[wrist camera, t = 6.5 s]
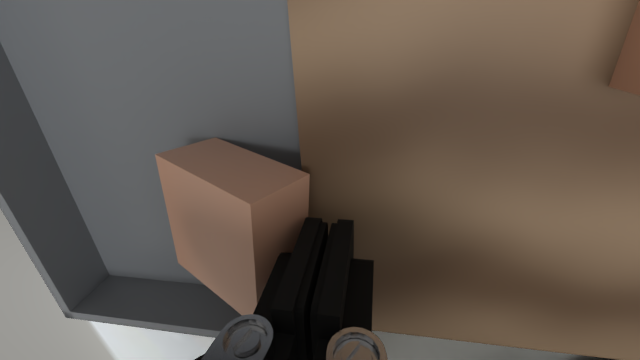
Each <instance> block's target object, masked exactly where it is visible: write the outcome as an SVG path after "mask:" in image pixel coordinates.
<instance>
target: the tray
mask: <svg viewBox="0 0 640 360" xmlns="http://www.w3.org/2000/svg"><path fill="white" fill-rule="evenodd" d="M215 137H216V138H218V139H221V140H223V141H226V142H229V143H231V144H234V145H236V146H239V147H241V148H244V149H247V150H249V151H252V152H254V153H257V154H259V155H262V156H265V157H267V158H270V159H272V160H275V161H277V162H280V163H282V164H285V165H288V166H290V167H293V168H295V169H298V170H300V171H302V167H301V155H300V144H299V132H298V120H297V109H296V97H295V86H294V74H293V62H292V51H291V39H290V27H289V16H288V4H287V0H0V209H1V210H2V212H3V214H4V215H5V217H6V219H7V220H8V222H9V224H10V225H11V227H12V228H13V230H14V232H15V234H16V235H17V237H18V238H19V240H20V242H21V244H22V245H23V247H24V248H25V250H26V252H27V253H28V255H29V257H30V259H31V260H32V262H33V263H34V265H35V267H36V268H37V270H38V272H39V273H40V275H41V277H42V278H43V280H44V282H45V283H46V285H47V287H48V288H49V290H50V292H51V293H52V295H53V297H54V298H55V300H56V301H57V303H58V305H59V307H60V308H61V310H62V312H63V313H64V315H65V317H67V318H73V319H80V320H88V321H95V322H102V323H110V324H117V325H125V326H132V327H140V328H147V329H154V330H162V331H169V332H177V333H184V334H191V335H199V336H206V337H214V338H216V337H217V336H218V334H219V333H220V332H221V330H222V329H223V328H224V327H225V326H226V325H227V324H228V323H229V322H230V321H232V320H233V319H235V318H237V317H240V316H242V315H241V314H240V313H238V312H237V311H236V310H235V309H234V308H232V307H231V306H230V305H229V304H228V303H226V302H225V301H224V300H223V299H221V298H220V297H219V296H218V295H217V294H215V293H214V292H213V291H212V290H211V289H209V288H208V287H207V286H206V285H204V284H203V283H202V282H201V281H200V280H198V279H197V278H196V277H195V276H194V275H192V274H191V273H190V272H189V271H187V270H186V269H185V268H184V267H183V266H181V265H180V264H179V263H178V259H177V255H176V250H175V245H174V241H173V236H172V232H171V227H170V222H169V218H168V213H167V208H166V204H165V199H164V194H163V190H162V185H161V180H160V176H159V171H158V167H157V162H156V157H155V154H158V153H161V152H165V151H168V150H172V149H176V148H179V147H183V146H186V145H190V144H193V143H197V142H201V141H204V140H208V139H211V138H215Z"/></svg>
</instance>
